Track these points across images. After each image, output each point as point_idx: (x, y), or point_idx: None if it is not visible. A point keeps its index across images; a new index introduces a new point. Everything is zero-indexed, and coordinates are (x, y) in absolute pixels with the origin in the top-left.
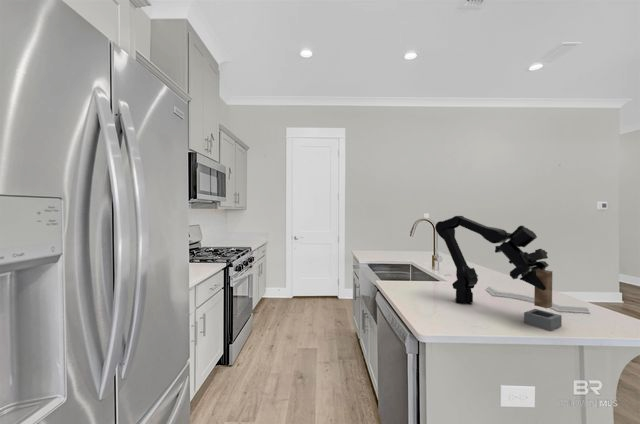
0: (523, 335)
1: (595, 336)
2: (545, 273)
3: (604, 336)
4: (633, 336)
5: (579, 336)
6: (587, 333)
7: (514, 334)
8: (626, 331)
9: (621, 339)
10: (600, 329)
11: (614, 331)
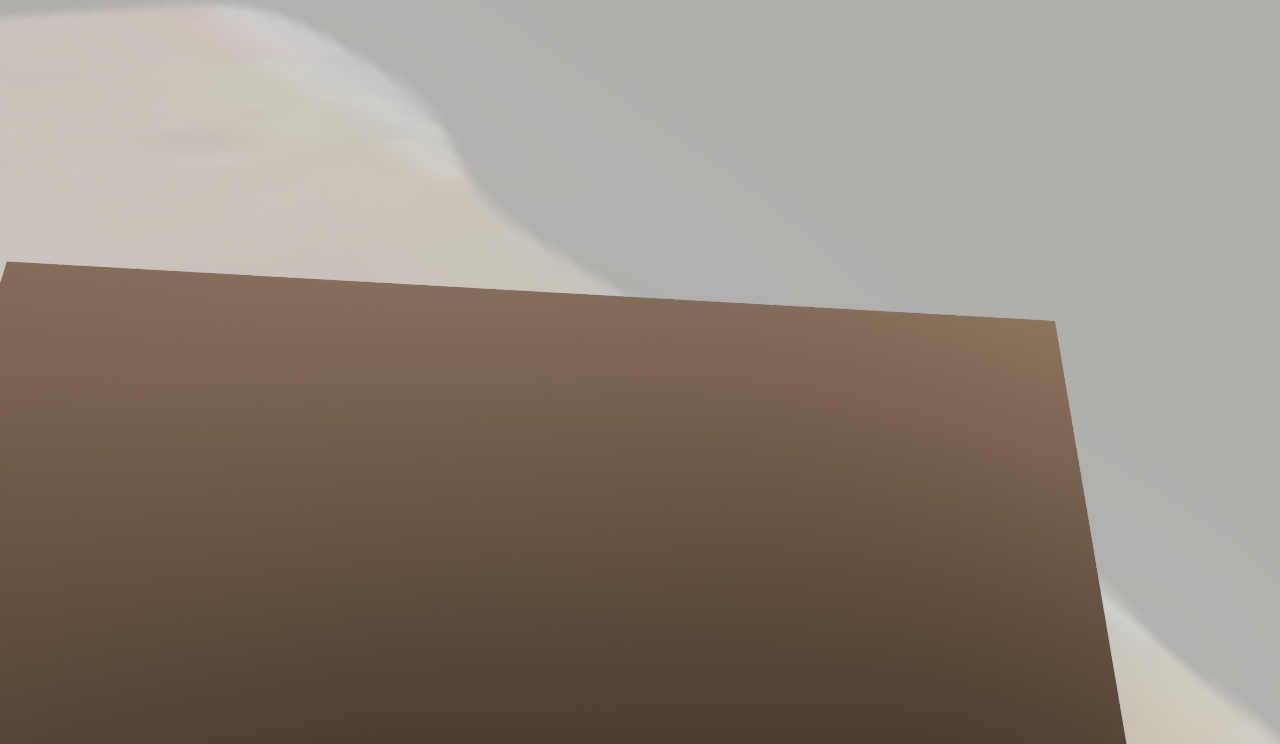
0: (1125, 641)
1: (475, 207)
2: (1005, 487)
3: (398, 160)
4: (160, 12)
5: (615, 295)
6: (441, 271)
7: (1195, 715)
8: (19, 64)
9: (359, 62)
10: (165, 223)
11: (123, 130)
